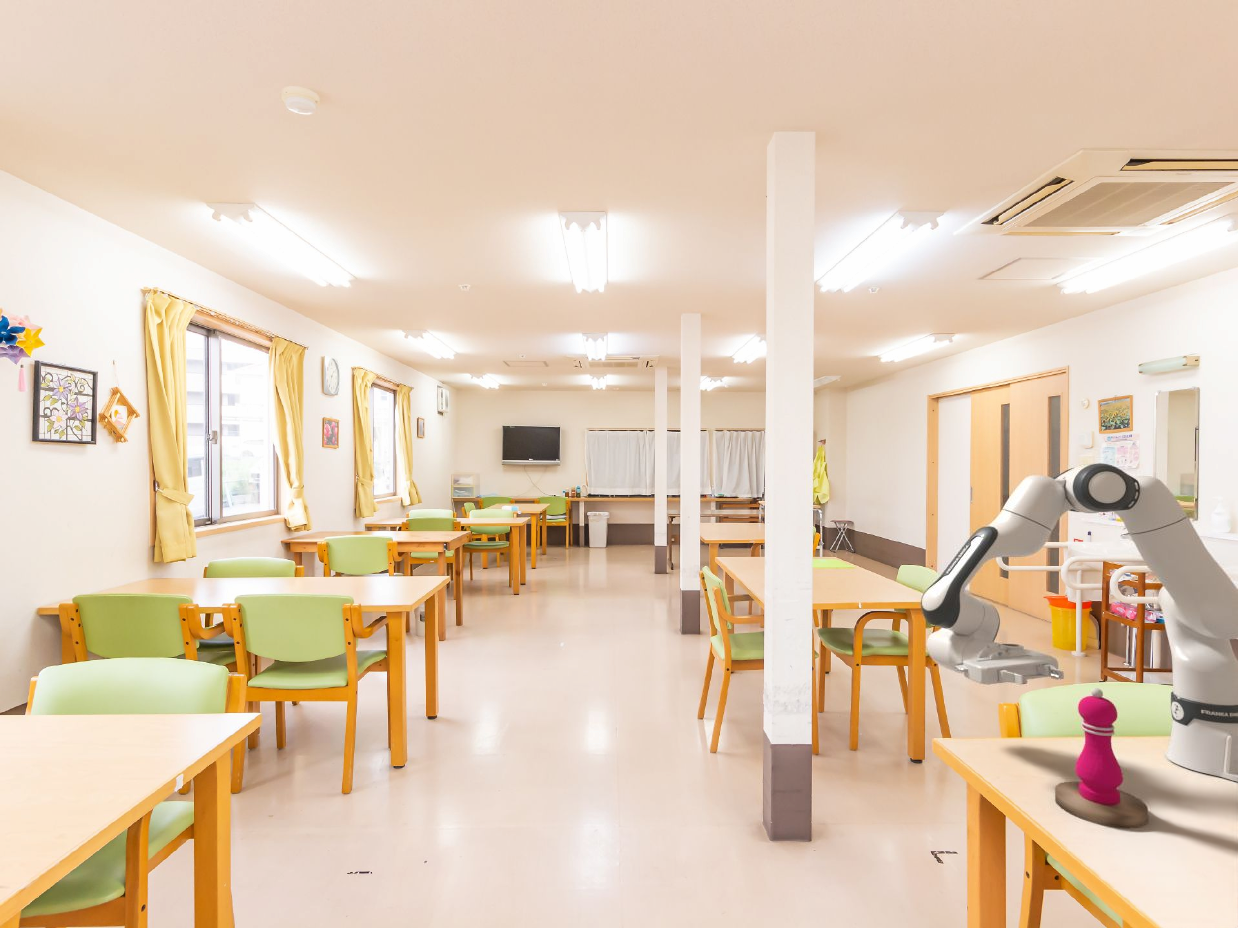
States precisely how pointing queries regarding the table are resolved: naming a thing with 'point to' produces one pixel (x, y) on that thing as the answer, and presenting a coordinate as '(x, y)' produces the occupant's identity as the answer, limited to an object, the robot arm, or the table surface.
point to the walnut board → (1102, 807)
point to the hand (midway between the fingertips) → (1042, 677)
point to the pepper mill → (1098, 751)
